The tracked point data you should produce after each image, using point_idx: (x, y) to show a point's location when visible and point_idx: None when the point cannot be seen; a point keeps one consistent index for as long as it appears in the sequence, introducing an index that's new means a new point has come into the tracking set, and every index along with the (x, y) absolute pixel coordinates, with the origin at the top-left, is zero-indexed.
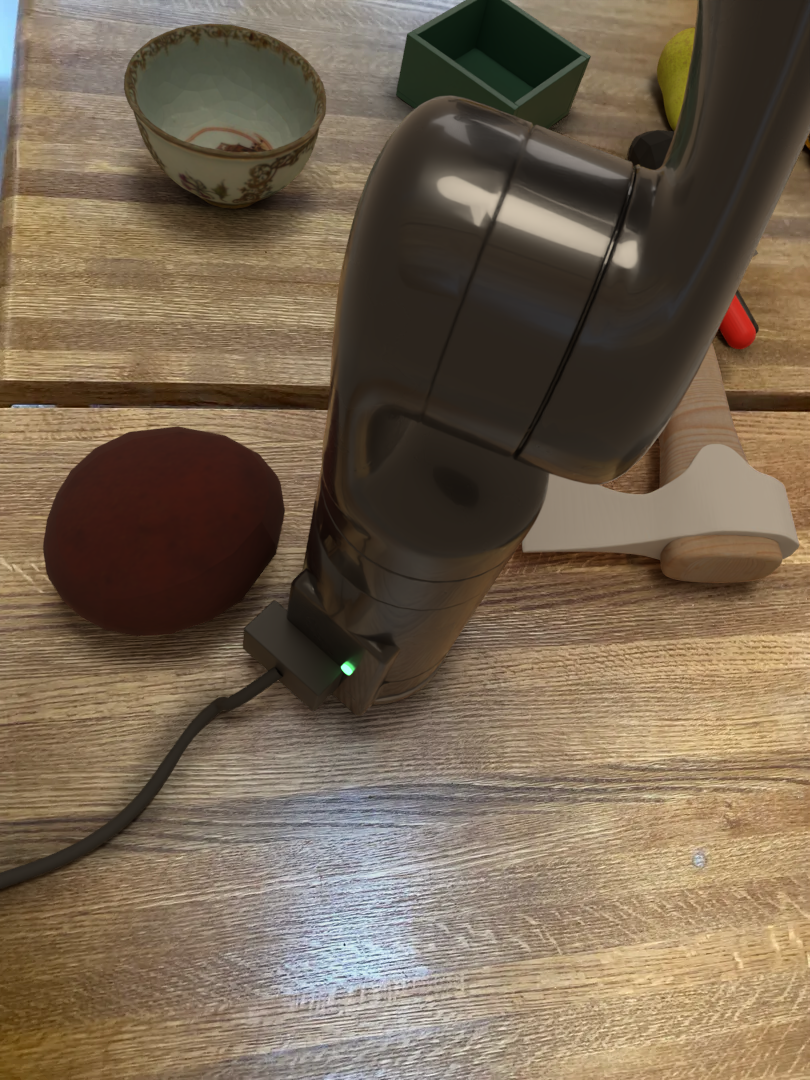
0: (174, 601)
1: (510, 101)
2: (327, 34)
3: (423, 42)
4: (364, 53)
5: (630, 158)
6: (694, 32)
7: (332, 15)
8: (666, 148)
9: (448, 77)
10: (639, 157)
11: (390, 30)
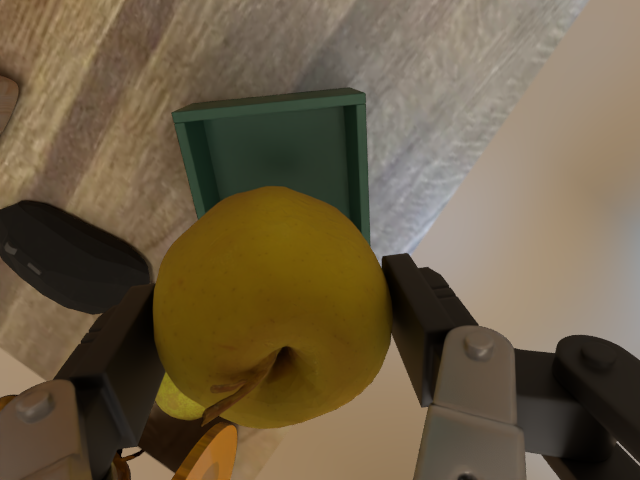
0: None
1: (187, 120)
2: (471, 93)
3: (339, 100)
4: (422, 109)
5: (126, 247)
6: (192, 403)
7: (488, 124)
8: (76, 266)
9: (284, 99)
10: (106, 246)
11: (429, 167)
